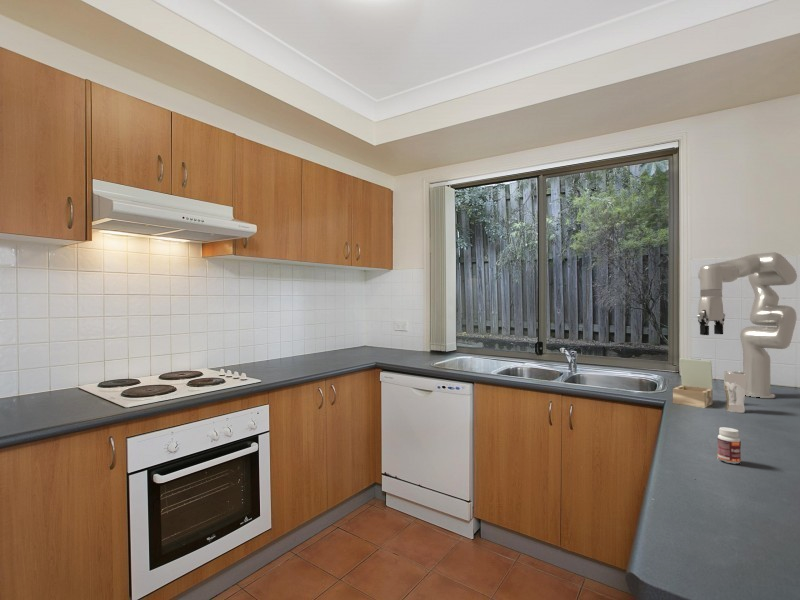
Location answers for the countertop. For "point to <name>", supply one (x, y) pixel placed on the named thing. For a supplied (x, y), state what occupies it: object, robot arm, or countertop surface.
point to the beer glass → (735, 391)
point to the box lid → (696, 373)
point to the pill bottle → (729, 445)
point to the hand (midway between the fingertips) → (711, 334)
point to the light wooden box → (693, 396)
